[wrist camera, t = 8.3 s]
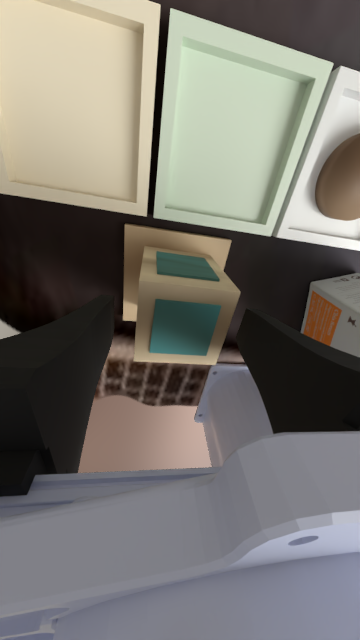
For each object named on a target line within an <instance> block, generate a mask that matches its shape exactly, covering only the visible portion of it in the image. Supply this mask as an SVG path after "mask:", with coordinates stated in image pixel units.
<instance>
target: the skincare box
mask: <svg viewBox="0 0 360 640" xmlns="http://www.w3.org/2000/svg"><path fill="white" fill-rule="evenodd" d="M301 333H303V334H305V335H306V336H308V337H310V338H313V339H315V340H317V341H319V342H321V343H324V344H326V345H328V346H331V347H333V348H335V349H338V350H341V351H343V352H346V353H349V354H352V355H354V356H357V357H360V273H355V274H349V275H344V276H340V277H334V278H330V279H324V280H319V281H314V282H311V283H310V289H309V295H308V300H307V305H306V310H305V315H304V319H303V324H302V328H301Z"/></svg>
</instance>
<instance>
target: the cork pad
mask: <svg viewBox="0 0 360 640" xmlns="http://www.w3.org/2000/svg"><path fill="white" fill-rule="evenodd" d="M230 245H231V240H230V239H227V238H220V237H214V236H207V235H200V234H194V233H187V232H181V231H174V230H168V229H161V228H154V227H148V226H141V225H135V224H128V223H126V224H125V237H124V299H123V320H126V321H136V320H137V305H138V290H139V278H140V272H141V266H142V259H143V253H144V246H148V247H155V248H162V249H169V250H176V251H183V252H190V253H197V254H203V255H210V256H211V257H212V258H213V259H214V260H215V262H216V263H217V264H218V265H219V266H220V268H221V269H222V270H224V267H225V263H226V259H227V256H228V252H229V248H230Z"/></svg>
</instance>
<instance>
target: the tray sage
mask: <svg viewBox="0 0 360 640" xmlns="http://www.w3.org/2000/svg"><path fill="white" fill-rule="evenodd" d="M333 64H334V63H332V62H329V61H326V60H323V59H320V58H317V57H314V56H311V55H308V54H305V53H302V52H299V51H296V50H293V49H290V48H287V47H284V46H281V45H278V44H275V43H273V42H270V41H267V40H264V39H261V38H258V37H255V36H252V35H249V34H246V33H243V32H240V31H237V30H234V29H231V28H228V27H225V26H222V25H219V24H216V23H213V22H210V21H207V20H205V19H202V18H199V17H196V16H193V15H190V14H187V13H184V12H181V11H178V10H175V9H172V8H170V19H169V30H168V43H167V55H166V67H165V80H164V92H163V104H162V117H161V129H160V141H159V154H158V166H157V178H156V191H155V203H154V215H153V218H158V219H165V220H171V221H177V222H183V223H190V224H196V225H202V226H209V227H215V228H221V229H227V230H234V231H240V232H246V233H252V234H259V235H265V236H271V235H272V232H273V229H274V226H275V224H276V221H277V218H278V215H279V213H280V210H281V207H282V204H283V202H284V199H285V196H286V193H287V191H288V188H289V185H290V182H291V180H292V177H293V174H294V171H295V169H296V166H297V163H298V160H299V158H300V155H301V152H302V149H303V147H304V144H305V141H306V138H307V136H308V133H309V130H310V127H311V125H312V122H313V119H314V116H315V114H316V111H317V108H318V105H319V103H320V100H321V97H322V94H323V92H324V89H325V86H326V83H327V81H328V78H329V75H330V72H331V70H332V67H333Z"/></svg>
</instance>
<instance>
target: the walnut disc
mask: <svg viewBox="0 0 360 640" xmlns="http://www.w3.org/2000/svg"><path fill="white" fill-rule="evenodd" d="M315 200H316V205H317V207H318V209H319V211H320V212H321V213H322V214H323V215H324V216H326V217H328V218H332V219H337V220H343V221H351V220H356V219H359V218H360V133H359V134H356V135H354V136H352V137H350V138H348V139H346V140H345V141H343V142H342V143H341V144H340V145H339V146H338V147H337V148H336V149H335V150H334V151H333V152H332V153H331V154H330V156H329V157H328V158H327V160H326V161H325V163H324V165H323V167H322V169H321V171H320V173H319V176H318V179H317V182H316V188H315Z"/></svg>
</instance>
